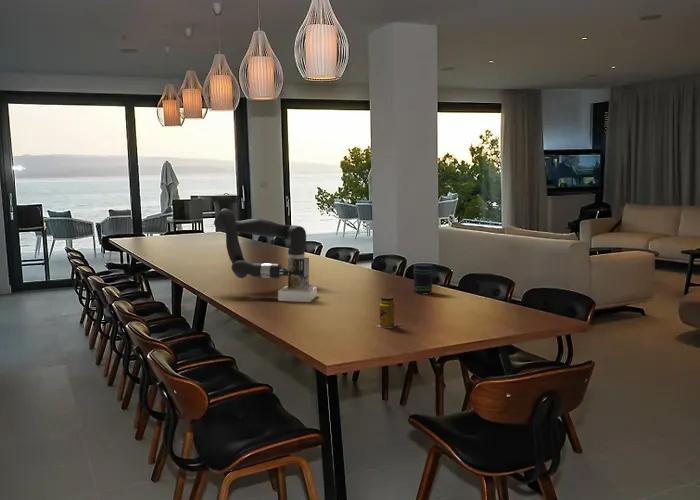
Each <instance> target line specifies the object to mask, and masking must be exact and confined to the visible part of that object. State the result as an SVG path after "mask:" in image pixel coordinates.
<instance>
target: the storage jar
mask: <svg viewBox="0 0 700 500" xmlns="http://www.w3.org/2000/svg"><path fill="white" fill-rule="evenodd" d="M432 276H433V264H431V263H414V264H413V286H412V287H413V291H414V292H415V293H430V292H432V289H433V283H432V279H433V277H432ZM415 293H414V294H415Z"/></svg>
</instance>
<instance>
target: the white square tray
mask: <svg viewBox="0 0 700 500" xmlns="http://www.w3.org/2000/svg"><path fill="white" fill-rule="evenodd" d="M317 290H318V288H317V286H309V289H308V290H293V289H288V285H286V286H284V287H282V288H281V289H279V290H277V301H278V302H279V301H280V302H299V303H300V302H302V303H305V302H306V303H311V302H312V301H313V300H315V298H317V295H318V293H317V292H318V291H317Z"/></svg>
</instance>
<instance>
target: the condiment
mask: <svg viewBox="0 0 700 500" xmlns="http://www.w3.org/2000/svg"><path fill="white" fill-rule="evenodd" d="M394 302H395V301H394V297H393V296H382V297H380V304H379V324H378V325H376V327H378V328H379V327H380V328H384V329H393V328H396V327H399V326H400V324H398V323H397V324H398V325H396V326H394V324H395V303H394Z"/></svg>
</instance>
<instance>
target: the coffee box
mask: <svg viewBox="0 0 700 500" xmlns="http://www.w3.org/2000/svg"><path fill="white" fill-rule="evenodd" d="M287 262H288V263H287V267H288V269H291V270H293V271H301V275H293V276H292V275H291V276H287V286H288V289H293V290H308V289H309V287H310V285H309V281H310V279H309V278H310V258H309V257H305V258H301V257H291V258H289V259H288V258H287Z"/></svg>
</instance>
